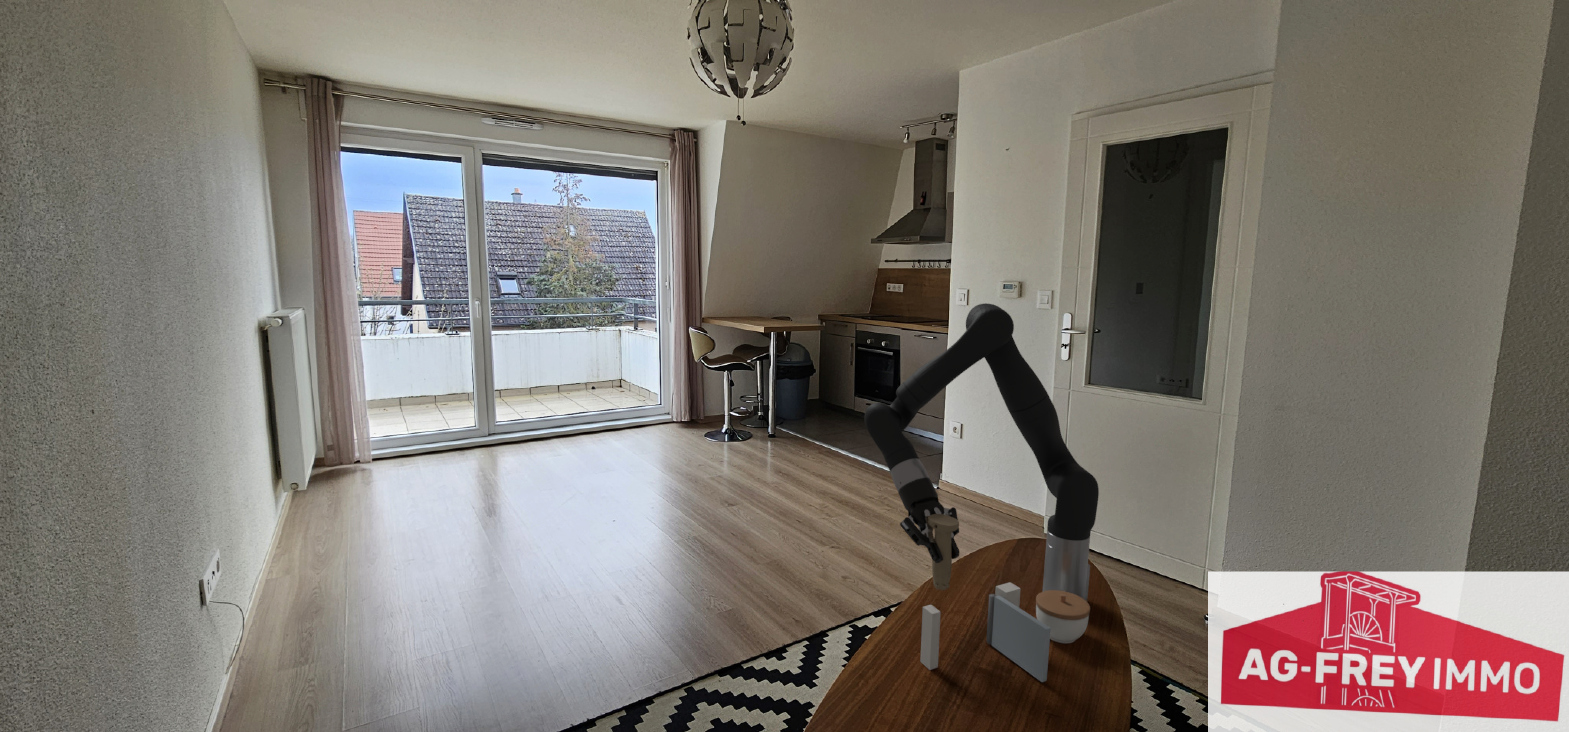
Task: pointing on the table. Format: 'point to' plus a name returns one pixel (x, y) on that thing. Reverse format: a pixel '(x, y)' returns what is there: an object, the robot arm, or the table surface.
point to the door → (1018, 636)
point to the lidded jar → (1062, 614)
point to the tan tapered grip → (943, 548)
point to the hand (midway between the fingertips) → (947, 559)
